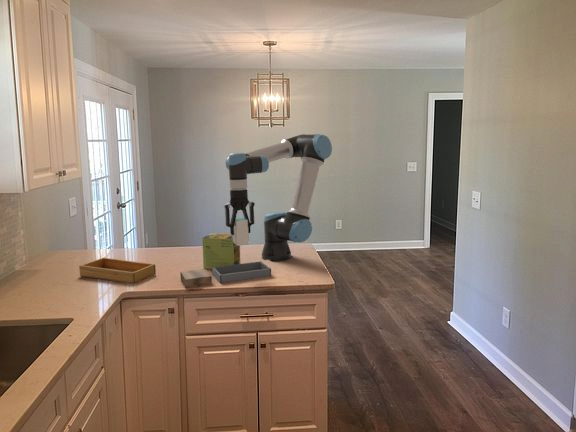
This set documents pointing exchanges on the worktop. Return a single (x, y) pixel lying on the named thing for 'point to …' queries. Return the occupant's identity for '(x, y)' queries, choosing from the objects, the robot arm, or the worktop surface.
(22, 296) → the worktop surface
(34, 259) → the worktop surface
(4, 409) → the worktop surface
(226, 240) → the protein box
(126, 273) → the tray
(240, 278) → the bin
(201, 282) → the stand
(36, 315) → the worktop surface
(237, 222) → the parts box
